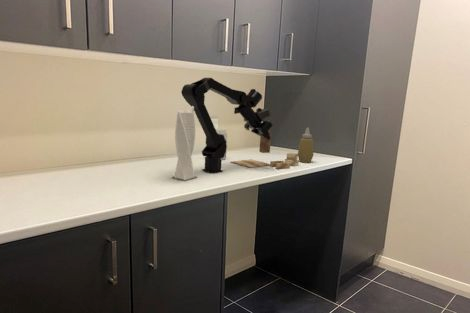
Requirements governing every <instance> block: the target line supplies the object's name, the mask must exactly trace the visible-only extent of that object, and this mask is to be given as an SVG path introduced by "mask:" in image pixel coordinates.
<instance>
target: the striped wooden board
mask: <svg viewBox="0 0 470 313" xmlns="http://www.w3.org/2000/svg"><path fill="white" fill-rule="evenodd" d="M229 163H230V164H233V165H237V166H241V167H245V168H249V169H252V168H260V167H264V166H265V167H266V166H267V167H268V166H270V163H269V162H263V161H259V160H255V159H251V158H250V159H242V160H234V161H230V162H229Z"/></svg>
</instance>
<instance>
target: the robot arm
mask: <svg viewBox="0 0 470 313" xmlns="http://www.w3.org/2000/svg"><path fill="white" fill-rule="evenodd" d="M209 91H212V92H213V93H216V94H218V95H220V96H222V97H224V98H225V99H226V101H227V102H228V103H230V104H232V105H238V106H236V107H234V111H233V114H234V115H236V114H240V115H241V117H242V118H243V121H244V122H246V123H245V124H244V125H243V126H244V129H245V131H250V132H251V133H252V134H255V135H256V136H259V137H260V136H261V135H262V136H263V137H265V138H267V139H268V140H269V139H270V135H269V132H268V131H269V130H270V129H271V128H272V127H273V126H274V124H273V123H272V122H271V121H270V120H265V118H268V117H270V116H271V113H270V110H269V109H268V108H260V107H258V108H256V107H257V105H258V104H259V103H260V102H261V101H262V99H263V96H262V93H260V92H259V91H257V90H256V88H252V89H250V90H249V92H248V93H246V92H245V91H242V90H238V89H237V90H236V89H232V88H231V87H228V86H226V85H225V84H223V83H221V82H219V81H217V80H215V79H214V78H212V77H203V78H201V79H199V80H197V81H194V82H192V83H190V84H189V83H188V84H184V85H183V86H182V88H181V95H182V96H181V97H182V98H183V99H184V100H185V102H186V103H187V104H188V105H189V106H190V107H192V106H194V115H196V118H197V119H198V122H199V124H200V126H201V129H202V131H203V133H204V135H205V145H206V146H204V148H203V149H202V150H201V154H202V155H201V156H203V157H204V168H202V169H201V170H202V171H204V172H206V173H210V174H215V173H222V172H223V169H222V160H221V158H224V154H225V151H226V152H227V148H228V146H227V145H226V143H227V144H228V141H227V142H226V140H225V138H224V135H222V134H218V133H217V132H216V129H217V128H216V127H215V125H214V122H213V120H212V118H211V116H210V114H209V112H208V109H207V107H206V105H205V101H206V100H205V99H206V97H205V94H206V93H208V92H209ZM253 108H256V111H255V110H254V109H253ZM212 152H213V153H212Z"/></svg>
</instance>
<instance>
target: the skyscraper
mask: <svg viewBox="0 0 470 313" xmlns="http://www.w3.org/2000/svg"><path fill="white" fill-rule="evenodd" d="M195 122H196V120H195V111H194V106H191V111H190V109H181V111H180V109H178V110H177V114H176V121H175V129H174V130H175V131H174V140H175V141H174V142H175V149H176V155H177V163H176V167H175V172H174V173H175V174H174V176H171V179H175V180H177V181H183V182H186V181H190V180H194V179H198V176H196V175H195V174H194V167H193V160H192V159H193V158H192V157H193V156H192V155H193V152H194V147H195V140H196V123H195Z"/></svg>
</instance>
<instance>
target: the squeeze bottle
mask: <svg viewBox="0 0 470 313" xmlns="http://www.w3.org/2000/svg"><path fill="white" fill-rule="evenodd" d="M312 136H313V135H312V134H311V133H310V127H306V129H305V132H304V134H303V133H302V137H301V138H300V141H299V146H298V151H297V154H298V160H299V163H300V162H301V163H305V164H306V163H311V162H312V160H313V157H314V139H312V138H313V137H312Z"/></svg>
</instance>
